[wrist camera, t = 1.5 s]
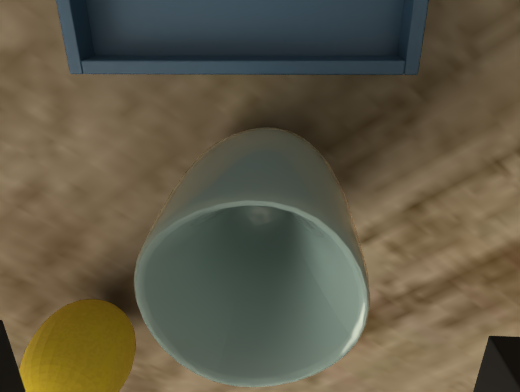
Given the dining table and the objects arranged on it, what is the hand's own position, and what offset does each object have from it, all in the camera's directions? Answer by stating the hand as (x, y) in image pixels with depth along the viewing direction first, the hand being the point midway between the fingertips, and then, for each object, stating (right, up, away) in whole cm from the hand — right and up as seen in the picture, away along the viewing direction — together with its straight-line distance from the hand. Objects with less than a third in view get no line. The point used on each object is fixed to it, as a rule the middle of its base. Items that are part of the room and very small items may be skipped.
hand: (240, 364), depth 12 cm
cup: (+1, +6, +11) cm, 13 cm away
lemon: (-9, -2, +16) cm, 18 cm away
